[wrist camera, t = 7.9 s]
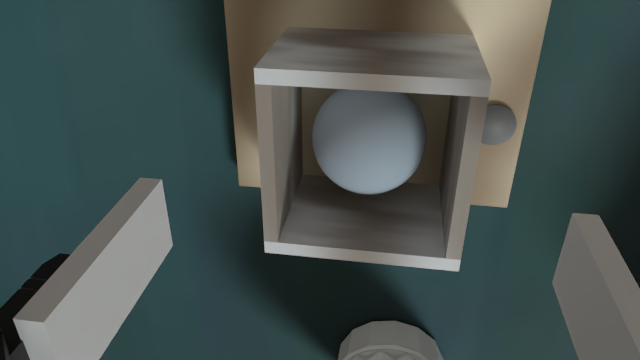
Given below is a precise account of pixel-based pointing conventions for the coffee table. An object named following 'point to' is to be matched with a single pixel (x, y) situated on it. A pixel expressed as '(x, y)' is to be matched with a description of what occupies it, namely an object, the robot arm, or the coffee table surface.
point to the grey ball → (369, 139)
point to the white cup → (388, 343)
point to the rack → (390, 76)
